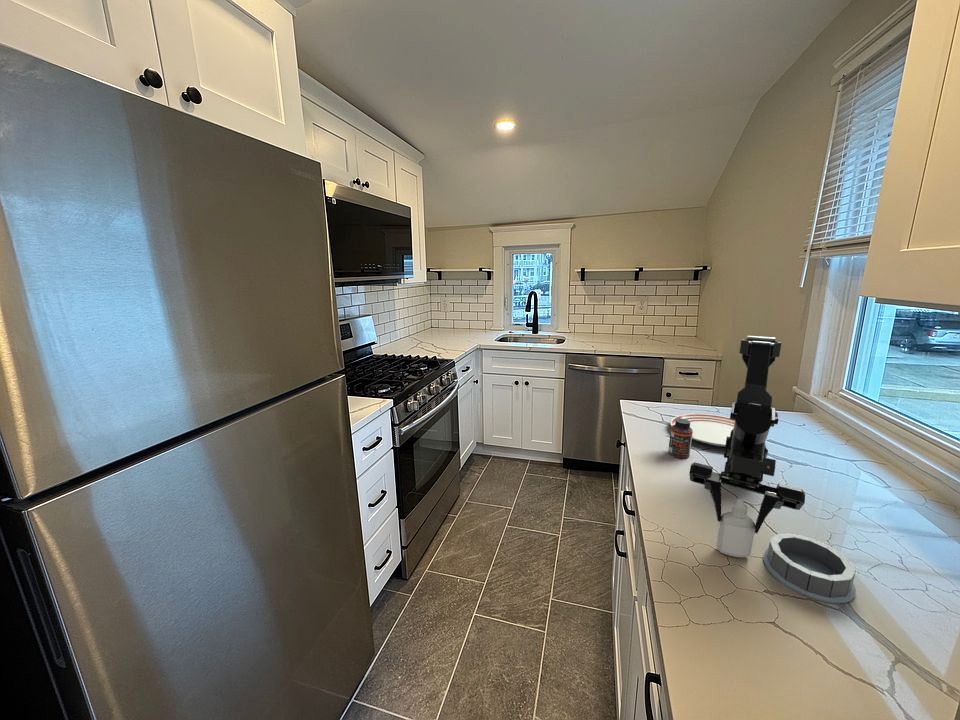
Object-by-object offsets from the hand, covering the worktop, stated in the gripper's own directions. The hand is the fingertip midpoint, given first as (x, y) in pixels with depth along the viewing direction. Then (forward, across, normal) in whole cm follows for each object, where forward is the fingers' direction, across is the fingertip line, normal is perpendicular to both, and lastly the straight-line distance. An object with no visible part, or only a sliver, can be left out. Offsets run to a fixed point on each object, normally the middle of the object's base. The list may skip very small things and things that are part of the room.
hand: (737, 527), depth 72 cm
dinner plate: (-39, -8, +50) cm, 64 cm away
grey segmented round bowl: (+3, +12, +7) cm, 14 cm away
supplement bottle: (-23, -16, +34) cm, 44 cm away
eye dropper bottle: (+4, 0, +6) cm, 7 cm away
